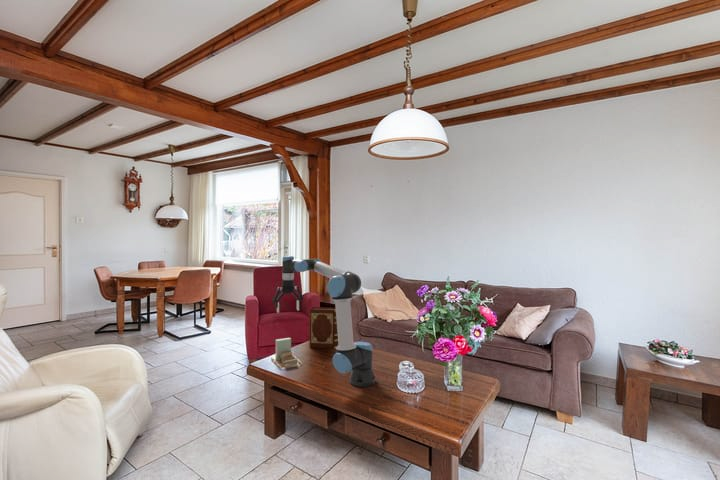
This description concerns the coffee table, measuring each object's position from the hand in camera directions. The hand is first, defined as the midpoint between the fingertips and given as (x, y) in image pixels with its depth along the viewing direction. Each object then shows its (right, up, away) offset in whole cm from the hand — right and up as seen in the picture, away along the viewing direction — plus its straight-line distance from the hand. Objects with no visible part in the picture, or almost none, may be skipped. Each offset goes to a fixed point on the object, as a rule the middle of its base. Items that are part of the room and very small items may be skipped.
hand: (288, 311), depth 224 cm
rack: (-2, -37, +5) cm, 37 cm away
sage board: (-5, -36, +10) cm, 37 cm away
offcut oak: (-2, -32, +5) cm, 33 cm away
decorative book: (+20, -37, +41) cm, 59 cm away
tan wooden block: (-2, -36, +5) cm, 36 cm away
